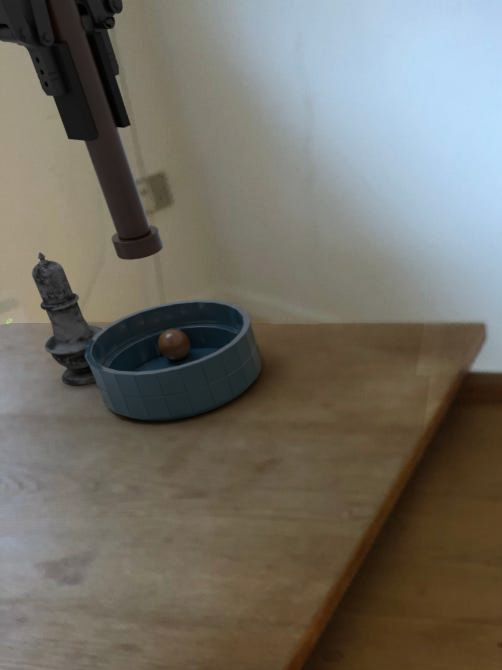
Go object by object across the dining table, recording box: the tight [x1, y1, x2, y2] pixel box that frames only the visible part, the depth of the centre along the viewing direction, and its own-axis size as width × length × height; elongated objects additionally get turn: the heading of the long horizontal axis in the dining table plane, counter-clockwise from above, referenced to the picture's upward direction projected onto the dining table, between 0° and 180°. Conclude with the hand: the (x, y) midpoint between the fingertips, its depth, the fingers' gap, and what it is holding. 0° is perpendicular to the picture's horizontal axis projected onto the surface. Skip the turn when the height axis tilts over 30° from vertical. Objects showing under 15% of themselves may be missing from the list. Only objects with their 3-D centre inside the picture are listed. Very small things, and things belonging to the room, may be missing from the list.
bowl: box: [85, 299, 263, 422], centre depth 90 cm, size 15×15×5 cm
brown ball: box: [158, 329, 190, 361], centre depth 94 cm, size 3×3×3 cm
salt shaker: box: [31, 252, 104, 387], centre depth 92 cm, size 6×6×12 cm
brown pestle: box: [45, 0, 164, 261], centre depth 76 cm, size 4×4×20 cm
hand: (99, 131), depth 77 cm, fingers closed on brown pestle, 3 cm apart
